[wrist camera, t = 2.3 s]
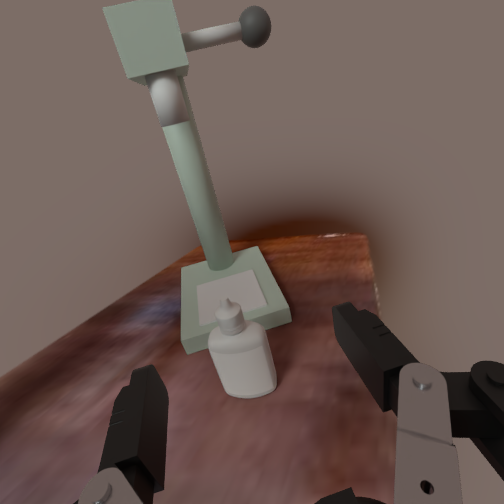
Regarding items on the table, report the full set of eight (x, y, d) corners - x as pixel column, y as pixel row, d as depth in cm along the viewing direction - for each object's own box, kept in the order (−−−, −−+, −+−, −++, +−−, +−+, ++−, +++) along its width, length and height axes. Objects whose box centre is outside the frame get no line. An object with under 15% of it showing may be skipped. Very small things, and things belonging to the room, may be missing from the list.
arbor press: (333, 308, 38) (301, -52, 21) (187, 354, 37) (25, 3, 20) (289, 248, 54) (251, 13, 37) (185, 279, 52) (95, 47, 35)
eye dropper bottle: (264, 413, 28) (235, 323, 22) (219, 391, 31) (184, 307, 25) (284, 376, 31) (263, 288, 25) (241, 360, 34) (214, 278, 28)
